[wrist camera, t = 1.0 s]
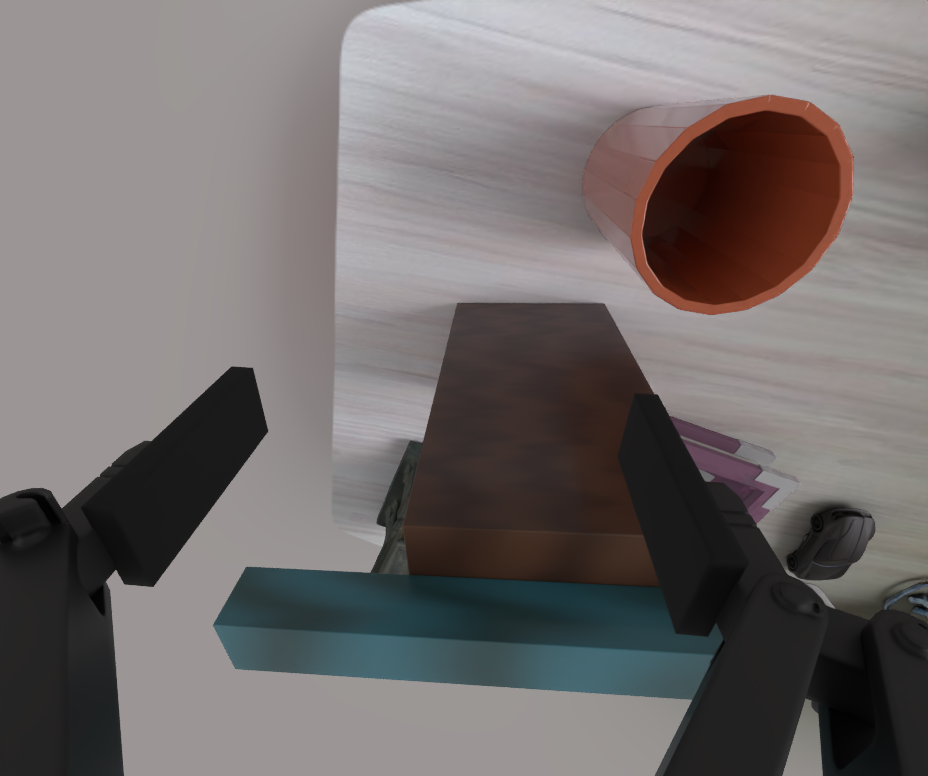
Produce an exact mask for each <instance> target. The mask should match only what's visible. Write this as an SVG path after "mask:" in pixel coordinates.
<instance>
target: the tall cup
mask: <svg viewBox="0 0 928 776" xmlns="http://www.w3.org/2000/svg"><path fill="white" fill-rule="evenodd" d="M853 158H854V157H853V155H852V152H851V150H850V148H849V145H848V143H847V141H846V138H845V136H844V134H843V131H842V129H841V127H840V125H839V124H838V123H837V122H836V121H834V120H833V119H832V118H831V117H829V116H828V115H827V114H825V113H824V112H823V111H821V110H820V109H819V108H818V107H816V106H815V105H814V104H812V103H811V102H809V101H804V100H798V99H793V98H787V97H782V96H776V95H761V96H750V97H739V98H728V99H717V100H706V101H695V102H684V103H673V104H662V105H657V106H652V107H647V108H642V109H639V110H636V111H634V112H632V113H630V114H627V115H625V116H624V117H622V118H621V119H619V120H618V121H616V122H615V123H614V124H613V125H612V126H610V127H609V128H608V129H607V130H606V131H605V133H604V134H603V135H602V136H601V137H600V139H599V140H598V141H597V143H596V144H595V146H594V148H593V149H592V151H591V153H590V156H589V158H588V160H587V163H586V166H585V170H584V175H583V183H582V192H583V200H584V204H585V207H586V210H587V213H588V215H589V217H590V218H591V220H592V221H593V223H594V224H595V225H596V227H597V228H598V230H599V231H600V232H601V233H602V235H603V236H604V237H605V238H606V239H607V240H608V242H609V243H610V244H611V245H612V246H613V247H614V248H615V250H616V251H617V252H618V253H619V254H620V255H621V257H622V258H623V259H624V260H625V261H626V262H627V264H628V265H629V266H630V267H631V268H632V269H633V271H634V272H635V273H636V274H637V275H638V276H639V277H640V279H641V280H642V281H643V282H644V283H645V284H646V286H647V287H648V288H649V289H650V290H651V291H652V293H654V294H655V295H656V296H658V297H659V298H661V299H663V300H664V301H666V302H668V303H669V304H671V305H672V306H674V307H676V308H677V309H680V310H684V311H690V312H696V313H701V314H707V315H715V314H722V313H729V312H736V311H742V310H745V309H746V310H747V309H749V308H752V307H754V306H756V305H758V304H761V303H763V302H765V301H767V300H769V299H772V298H774V297H776V296H778V295H780V294H782V293H783V292H784V291H786V290H787V289H788V288H790V287H791V286H792V285H793V284H795V283H796V282H797V281H798V280H800V279H801V278H802V277H803V276H805V275H806V274H807V273H808V272H810V271H811V270H812V268H814V267H815V265H816V264H817V263H818V261H819V260H820V259H821V257H822V256H823V255H824V253H825V252H826V251H827V249H828V248H829V247H830V245H831V244H832V243H833V241H834V240H835V239H836V237H837V235H838V234H839V232H840V229H841V227H842V224H843V221H844V219H845V216H846V214H847V211H848V208H849V206H850V203H851V201H852V196H853V171H854V159H853Z"/></svg>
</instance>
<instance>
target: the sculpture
mask: <svg viewBox="0 0 928 776" xmlns="http://www.w3.org/2000/svg"><path fill="white" fill-rule="evenodd" d="M921 582H922V581H921ZM921 582H919V583H917V584H915V585H913V586H911V587H909V588H907V589H905V590H903V591H901V592H899V593H897V594H896V595H894V596H893V597H891V598H889V599H887V600H886V603H885V605H884V608H885V610H888V609H889V606H891V605H892V604H894V603H895V602H896V601H897V600H899V599H900V598H902V597H903V596H905V595H906V594H908V593H911V592H913V591H915V590H918V589H921V588H924V587H927V586H928V582H927V581H925V582H922V583H921ZM908 601H910V602H911V603H919V604H923V605H924V606H925V607H927V608H920V607H915V608H914V609H913V610H912V612H913V613H915V614H917V615H925V616H927V620H928V594H926V595H920V596H911V597H909V598H908ZM927 624H928V622H927Z"/></svg>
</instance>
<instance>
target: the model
mask: <svg viewBox="0 0 928 776" xmlns="http://www.w3.org/2000/svg"><path fill="white" fill-rule="evenodd" d="M422 445H423V444H420V443H417V442H414V441H410V442H409V444H408V447H407V449H406V451H405V454H404V456H403V458H402V460H401V462H400V465H399V467H398V469H397V472H396V474H395V476H394V478H393V481H392V483H391V485H390V488H389V490H388V493H387V496H386V498H385V501H384V503H383V506H382V508H381V510H380V513H379V515H378V518H377V524H378V525H381V526H384V527H386V536H385V541H384V544H383V547H382V549H381V551H380V553H379V555H378V557H377V560H376V562H375V565H374V567H373V569H372V571H371V573H383V574H403V575H409V572H408V564H407V557H406V549H405V541H404V533H403V522H404V518H405V514H406V509H407V505H408V501H409V497H410V493H411V489H412V485H413V481H414V477H415V473H416V469H417V465H418V461H419V457H420V453H421V449H422Z"/></svg>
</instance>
